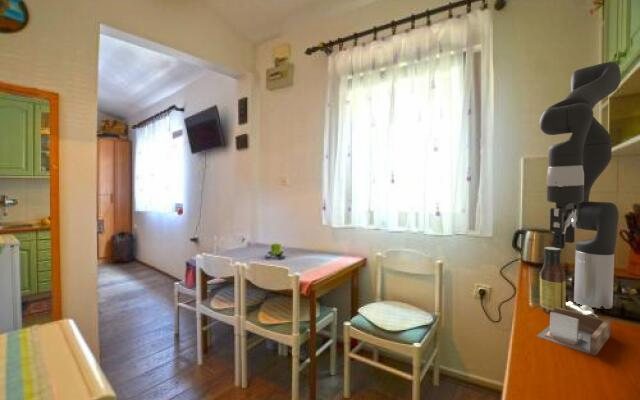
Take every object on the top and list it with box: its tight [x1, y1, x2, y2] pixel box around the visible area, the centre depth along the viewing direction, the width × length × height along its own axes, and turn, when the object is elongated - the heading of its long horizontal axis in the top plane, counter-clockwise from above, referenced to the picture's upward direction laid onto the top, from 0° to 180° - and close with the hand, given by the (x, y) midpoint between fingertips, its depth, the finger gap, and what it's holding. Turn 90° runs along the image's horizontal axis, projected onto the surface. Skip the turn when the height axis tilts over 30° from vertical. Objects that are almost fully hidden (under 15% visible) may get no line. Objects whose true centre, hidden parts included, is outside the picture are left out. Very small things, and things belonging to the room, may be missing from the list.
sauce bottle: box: [539, 246, 567, 314], centre depth 92 cm, size 6×6×20 cm
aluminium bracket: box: [549, 312, 583, 345], centre depth 77 cm, size 6×4×6 cm
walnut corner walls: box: [554, 307, 612, 357], centre depth 77 cm, size 14×11×4 cm
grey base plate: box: [536, 324, 593, 355], centre depth 78 cm, size 14×11×1 cm
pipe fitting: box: [566, 301, 599, 318], centre depth 88 cm, size 8×4×7 cm
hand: (564, 245), depth 80 cm, fingers open, 8 cm apart
